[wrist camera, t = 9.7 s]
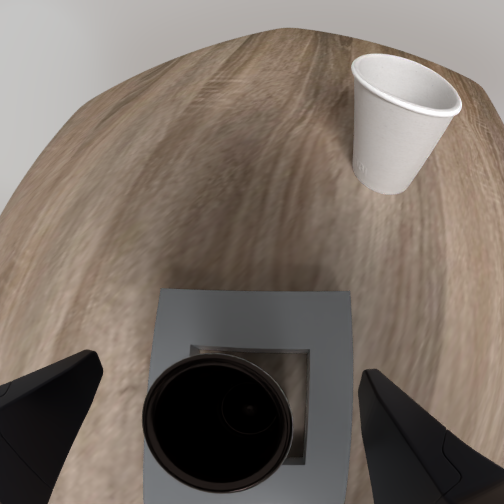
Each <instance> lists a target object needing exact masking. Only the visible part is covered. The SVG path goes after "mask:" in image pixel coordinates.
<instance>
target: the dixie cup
mask: <svg viewBox="0 0 504 504" xmlns="http://www.w3.org/2000/svg"><path fill="white" fill-rule="evenodd" d="M351 70H352V73H353V75H354V94H355V104H354V146H353V171H354V173H355V175H356V177H357V178H358V179H359V181H360V182H361V183H362V184H364V185H365V186H366V187H368V188H369V189H371V190H373V191H375V192H378V193H381V194H387V195H394V194H399V193H401V192H403V191H405V190H406V189H407V187H408V186H409V185H410V183H411V182H412V180H413V179H414V177H415V176H416V174H417V173H418V171H419V170H420V169H421V167H422V166H423V164H424V163H425V161H426V160H427V158H428V157H429V155H430V153H431V152H432V150H433V149H434V147H435V146H436V144H437V143H438V141H439V139H440V138H441V136H442V135H443V133H444V131H445V130H446V128H447V126H448V125H449V123H450V121H451V120H452V118H453V116H455V115H457V114H458V113H459V112H460V110H461V108H462V103H461V99H460V97H459V95H458V93H457V92H456V90H455V89H454V88H453V86H452V85H451V84H450V83H449V82H448V81H446V80H445V79H444V78H443V77H441V76H440V75H439V74H437V73H436V72H434V71H432V70H431V69H429V68H427V67H425V66H423V65H421V64H419V63H416V62H414V61H411V60H408V59H405V58H402V57H398V56H393V55H387V54H367V55H363V56H361V57H358V58H357V59H355V60H354V61H353V63H352V66H351Z"/></svg>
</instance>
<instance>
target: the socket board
mask: <svg viewBox="0 0 504 504" xmlns="http://www.w3.org/2000/svg"><path fill="white" fill-rule="evenodd" d="M199 349H203V350H216V351H232V352H253V353H307V392H306V416H305V434H304V450H303V457H302V458H286V459H285V460H284V462H283V464H282V465H281V466H280V468H279V469H278V470H277V471H276V472H275V473H274V474H273V475H272V476H271V477H270V478H269V479H267V480H266V481H264V482H263V483H261V484H259V485H258V486H256V487H253V488H251V489H248V490H245V491H242V492H237V493H230V494H214V493H207V492H202V491H199V490H196V489H193V488H190V487H188V486H186V485H184V484H182V483H180V482H179V481H177V480H175V479H174V478H173V477H171V476H170V475H169V474H168V473H167V472H165V471H164V470H163V469H162V467H161V466H160V465H159V464H158V463H157V462H156V460H155V459H154V457H153V456H152V454H151V452H150V450H149V448H148V446H147V443H146V440H145V437H144V463H143V498H144V504H344V503H345V496H346V488H347V479H348V470H349V459H350V447H351V431H352V410H353V337H352V314H351V297H350V291H303V292H293V291H222V290H191V289H167V288H161V291H160V297H159V303H158V309H157V316H156V322H155V329H154V337H153V344H152V352H151V361H150V370H149V380H148V391H149V389H150V387H151V386H152V384H153V383H154V381H155V380H156V379H157V377H158V376H159V375H160V374H161V373H162V372H163V371H164V370H166V369H167V368H168V367H170V366H171V365H173V364H174V363H176V362H178V361H180V360H182V359H184V358H187V357H190V356H193V355H198V354H199ZM148 391H147V393H148Z"/></svg>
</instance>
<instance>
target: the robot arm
mask: <svg viewBox="0 0 504 504" xmlns="http://www.w3.org/2000/svg"><path fill="white" fill-rule="evenodd" d="M102 376H103V367H102V365H101V362H100V360H99V357H98V354H97V353H96V352H95V351H92V350H83V351H81V352H79V353H77V354H74V355H72V356H70V357H67V358H65V359H63V360H60V361H58V362H56V363H53V364H51V365H49V366H46V367H44V368H42V369H39V370H37V371H35V372H32V373H30V374H28V375H25V376H23V377H20V378H18V379H16V380H13V381H12V382H8V383H6V384H3V385H1V386H0V504H48V502H49V499H50V496H51V494H52V491H53V488H54V486H55V483H56V481H57V479H58V476H59V474H60V471H61V469H62V467H63V464H64V462H65V460H66V458H67V455H68V453H69V451H70V449H71V446H72V444H73V442H74V440H75V438H76V436H77V434H78V431H79V429H80V427H81V425H82V423H83V421H84V419H85V417H86V415H87V413H88V411H89V409H90V407H91V404H92V402H93V399H94V396H95V394H96V391H97V388H98V386H99V383H100V381H101V378H102ZM358 398H359V408H360V419H361V431H362V438H363V444H364V448H365V453H366V459H367V464H368V469H369V475H370V480H371V486H372V492H373V498H374V504H504V469H503V468H502V467H500V466H499V465H497V464H495V463H494V462H492V461H491V460H489V459H487V458H486V457H484V456H483V455H481V454H480V453H478V452H477V451H475V450H474V449H472V448H471V447H469V446H468V445H467V444H465V443H464V442H463V441H461V440H460V439H459V438H458V437H456V436H455V435H454V434H453V433H452V432H450V431H449V430H446V427H444V426H443V425H442V424H441V423H440V422H438V421H437V420H436V419H435V418H434V417H433V416H431V415H430V414H429V413H428V412H427V411H426V410H424V409H423V408H422V407H421V406H420V405H419V404H417V403H416V402H415V401H414V400H413V399H411V398H410V397H409V396H408V395H407V394H406V393H404V392H403V391H402V390H401V389H400V388H399V387H397V386H396V385H395V384H394V383H393V382H392V381H390V380H389V379H388V378H387V377H386V376H385V375H383V374H382V373H381V372H380V371H379V370H377V369H366V370H364V371H363V373H362V377H361V381H360V385H359V389H358Z"/></svg>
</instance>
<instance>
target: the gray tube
mask: <svg viewBox="0 0 504 504" xmlns="http://www.w3.org/2000/svg"><path fill="white" fill-rule="evenodd" d="M142 427H143V433H144V437H145V440H146V443H147V446H148V448H149V450H150V452H151V454H152V456H153V457H154V459H155V460H156V462H157V463H158V464H159V465H160V466H161V467H162V469H163V470H164V471H165V472H167V473H168V474H169V475H170V476H171V477H173V478H174V479H175V480H177V481H179V482H180V483H182V484H184V485H186V486H188V487H190V488H193V489H196V490H199V491H202V492H207V493H214V494H230V493H237V492H242V491H245V490H248V489H251V488H253V487H256V486H258V485H259V484H261V483H263V482H264V481H266V480H267V479H269V478H270V477H271V476H272V475H273V474H274V473H275V472H276V471H277V470H278V469H279V468H280V466H281V465H282V464H283V462H284V460H285V459H286V457H287V455H288V453H289V450H290V447H291V444H292V439H293V417H292V412H291V408H290V405H289V402H288V400H287V398H286V396H285V394H284V392H283V391H282V389H281V388H280V386H279V385H278V384H277V383H276V381H275V380H274V379H273V378H272V377H271V376H270V375H269V374H268V373H266V372H265V371H264V370H262V369H261V368H259V367H258V366H256V365H255V364H253V363H251V362H249V361H247V360H245V359H242V358H239V357H236V356H232V355H228V354H220V353H205V354H198V355H193V356H190V357H187V358H184V359H182V360H180V361H178V362H176V363H174V364H173V365H171V366H170V367H168V368H167V369H166V370H164V371H163V372H162V373H161V374H160V375H159V376H158V377H157V379H156V380H155V381H154V383H153V384H152V386H151V387H150V389H149V391H148V393H147V396H146V398H145V402H144V405H143V411H142Z"/></svg>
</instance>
